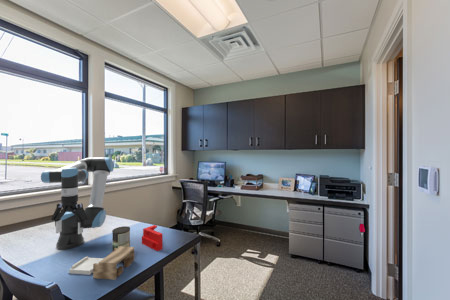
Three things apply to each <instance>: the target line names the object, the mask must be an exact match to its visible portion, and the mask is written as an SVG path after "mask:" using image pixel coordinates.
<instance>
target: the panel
mask: <svg viewBox="0 0 450 300" xmlns="http://www.w3.org/2000/svg"><path fill="white" fill-rule="evenodd" d="M104 258H105V257H103V258H102V257H101V258H99V257H89V256H85V257H83V258H82V259H80V260H79V261H77V262H76V263H74V264H73V265H71V267H70V268H69V269H68V274H73V275H74V274H75V275H85V276H87V275H88V276H89V275H90V276H91V275H92V274H93V264H95V263H98V264H99V262H100V261H101V260H103V259H104Z"/></svg>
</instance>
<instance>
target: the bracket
mask: <svg viewBox="0 0 450 300" xmlns="http://www.w3.org/2000/svg"><path fill="white" fill-rule="evenodd" d="M157 228H158V226H157V225H156V224H154V225H150V226H147V227H144V228H143V229H142V236H141V244H142V245H144V246H146V247H148V248H149V249H152V250H154V251H156V252H159V251H162V250H163V247H164V246H163V239H164V238H163V233H161V232H160V231H156V230H155V229H157Z"/></svg>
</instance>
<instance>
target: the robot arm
mask: <svg viewBox="0 0 450 300" xmlns="http://www.w3.org/2000/svg"><path fill="white" fill-rule="evenodd" d="M114 165H115V164H114V161H113V159H112V158H111V157H106V156H104V157H103V156H101V157H98V156H97V157H94V156H93V157H91V156H90V157H86V158H82V159H78V160H76V161H74V162H73V163H70V164H68V165H66V166H62V167H59V168H56V169H53V170H52V169H49V170H44V171H42V172H41V174H40V181H41V182H42V183H44V184H56V183H58V184H61V190H60V191H61V194H60V195H61V197H60V200H61V201H60V203H57V204H56V207H55V209H54V212H53V215H52V217H51V221H54V226H55V234H59V236H58V238H57V242H56V244H55V246H56V247H55V248H56V249H57V250H61V251H62V250H69V249H73V248H76V247H79V246H80V245H82V244H83V243H84V242H85V238H84V236H83V233H84V229H96V228H101V227H102V226H103V224H104V222H105V221H106V217H107V211H106V210H105V208H104V206H103V202H104V196H105V193H106V192H105V191H106V186H107V180H108V176H110V174H111V172H113V171H114ZM89 173H92V174H93V175H94V176H93V177H94V178H93V181H92V186H91V191H90V196H89V201H88V205H87V206H86V207H85V208H84V205H83V203H81V202H80V203H78V201H79V183H83V182H84V181H86V180H87V179H88V177H89Z"/></svg>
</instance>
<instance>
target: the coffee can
mask: <svg viewBox="0 0 450 300" xmlns="http://www.w3.org/2000/svg"><path fill="white" fill-rule="evenodd" d="M111 232H112V233H111V234H112V237H111V238H112V252H113V251H114V249H115V248H118V247H120V246H122V247H131V242H130V241H131V227H130V226H127V225H126V226H119V227H116V228H113V229H112V231H111ZM112 252H111V253H112Z"/></svg>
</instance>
